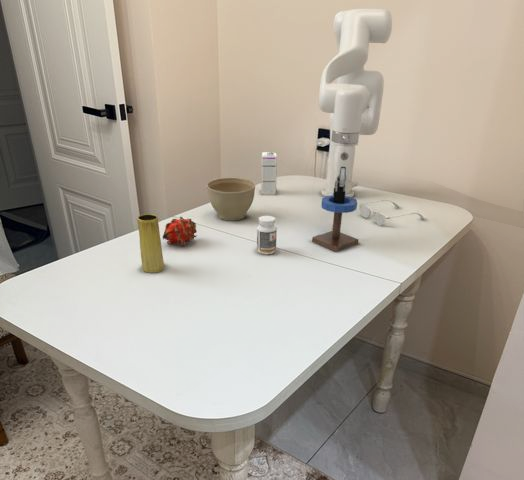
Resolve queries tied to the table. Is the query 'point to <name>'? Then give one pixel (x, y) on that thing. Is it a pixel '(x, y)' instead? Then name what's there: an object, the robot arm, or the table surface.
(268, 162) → the syrup box
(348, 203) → the blue ring
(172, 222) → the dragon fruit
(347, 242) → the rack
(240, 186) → the planter bowl
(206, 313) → the table surface
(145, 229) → the vase
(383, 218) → the eyeglasses
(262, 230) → the pill bottle
